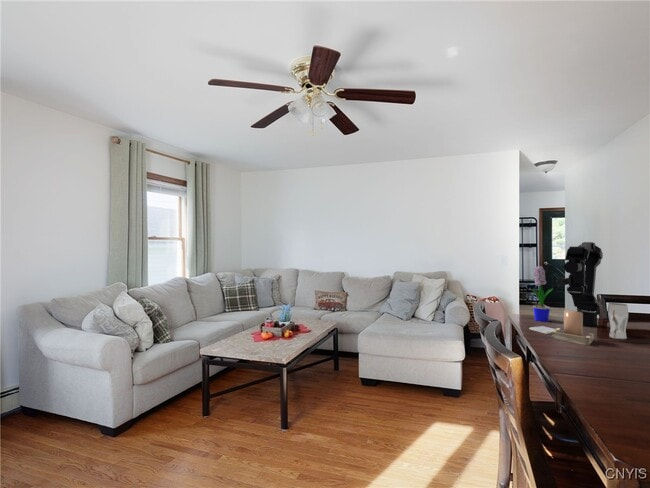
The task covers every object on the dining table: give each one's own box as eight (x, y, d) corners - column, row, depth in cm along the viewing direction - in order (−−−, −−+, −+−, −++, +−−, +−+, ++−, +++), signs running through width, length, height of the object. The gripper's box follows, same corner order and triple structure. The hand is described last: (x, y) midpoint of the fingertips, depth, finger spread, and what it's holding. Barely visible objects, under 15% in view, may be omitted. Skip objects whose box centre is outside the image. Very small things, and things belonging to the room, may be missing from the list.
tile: (543, 327, 172) (543, 325, 172) (560, 332, 164) (560, 330, 164) (529, 329, 170) (529, 327, 170) (546, 333, 161) (546, 332, 161)
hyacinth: (557, 322, 182) (557, 266, 182) (535, 321, 184) (535, 266, 184) (549, 318, 191) (549, 264, 191) (529, 318, 193) (529, 264, 193)
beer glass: (620, 335, 158) (620, 302, 157) (632, 339, 151) (632, 305, 150) (604, 335, 158) (604, 302, 158) (615, 339, 151) (615, 305, 151)
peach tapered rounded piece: (565, 335, 158) (565, 309, 157) (584, 338, 153) (584, 311, 152) (562, 338, 153) (562, 312, 153) (580, 342, 148) (580, 314, 148)
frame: (557, 334, 160) (557, 327, 160) (593, 340, 150) (593, 333, 150) (551, 338, 153) (551, 332, 153) (588, 345, 143) (588, 338, 143)
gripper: (560, 271, 176) (559, 301, 176) (554, 272, 162) (553, 305, 162) (587, 272, 169) (587, 304, 168) (583, 274, 155) (583, 308, 154)
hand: (577, 305), depth 163 cm, fingers open, 9 cm apart
